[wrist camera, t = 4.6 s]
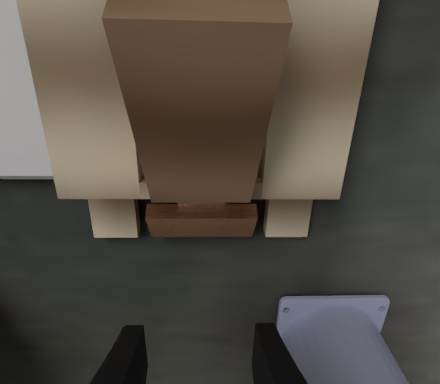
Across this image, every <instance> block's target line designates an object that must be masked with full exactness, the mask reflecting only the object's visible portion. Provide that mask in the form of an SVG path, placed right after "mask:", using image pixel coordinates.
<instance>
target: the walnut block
mask: <svg viewBox="0 0 440 384" xmlns="http://www.w3.org/2000/svg"><path fill="white" fill-rule="evenodd" d="M102 22H103V26H104V29H105V33H106V37H107V40H108V44H109V48H110V52H111V55H112V59H113V63H114V66H115V70H116V74H117V77H118V81H119V85H120V89H121V92H122V96H123V100H124V103H125V107H126V111H127V114H128V118H129V122H130V125H131V129H132V133H133V137H134V140H135V144H136V148H137V151H138V155H139V159H140V162H141V166H142V170H143V174H144V177H145V181H146V185H147V188H148V192H149V196H150V199H151V203H250V202H251V198H252V194H253V190H254V185H255V181H256V177H257V173H258V168H259V164H260V160H261V156H262V151H263V147H264V143H265V139H266V134H267V130H268V126H269V122H270V118H271V113H272V109H273V105H274V101H275V96H276V92H277V88H278V84H279V79H280V75H281V71H282V67H283V62H284V58H285V54H286V50H287V46H288V41H289V37H290V33H291V29H292V24H293V22H292V18H291V13H290V9H289V5H288V1H287V0H107V1H106V4H105V8H104V11H103V15H102Z"/></svg>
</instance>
